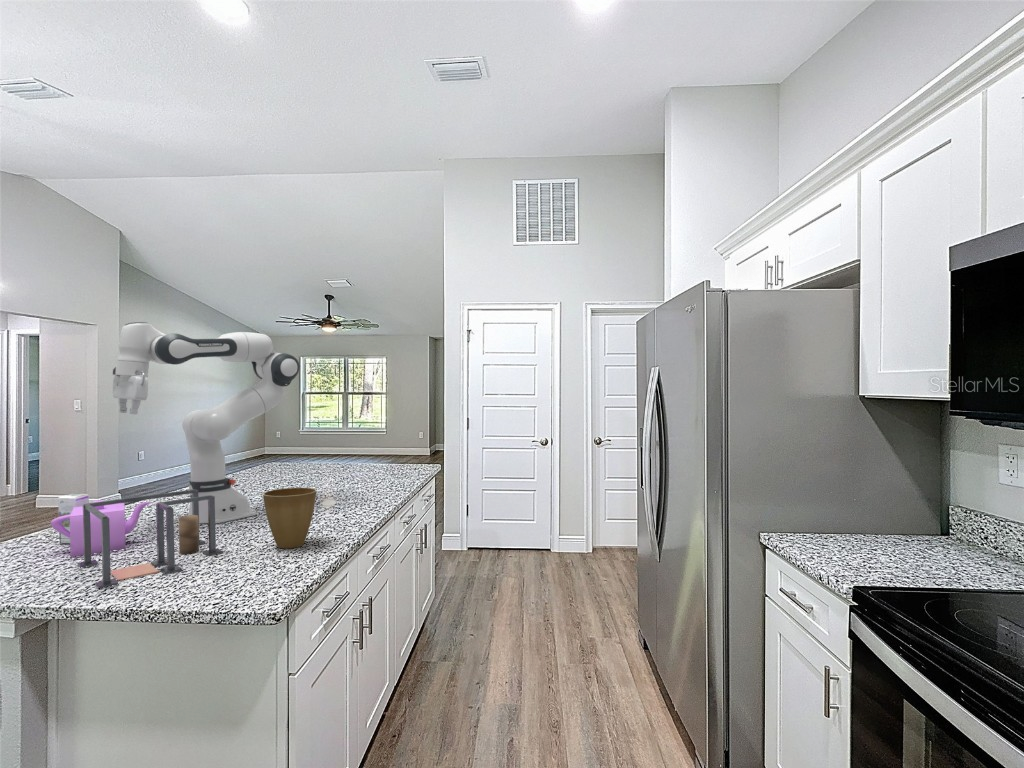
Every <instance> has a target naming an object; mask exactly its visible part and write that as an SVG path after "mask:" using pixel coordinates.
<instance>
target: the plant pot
mask: <svg viewBox="0 0 1024 768" xmlns="http://www.w3.org/2000/svg"><path fill="white" fill-rule="evenodd" d="M262 498H263V503H264V508H265V509H264V510H265V514H266V517H267V518H266V519H267V522H268V526H269V528H270V531H271V535H272V537H273V540H274V543H275V544H276V547H277V548H279V549H294V548H295V549H296V548H300V547H302V546H303V545H304V544H305V542H306V539H307V536H308V533H309V530H310V526H311V523H312V520H313V514H314V511H315V504H316V498H317V489H316V488H313V487H287V488H278V489H272V490H268V491H264V492H263V493H262Z"/></svg>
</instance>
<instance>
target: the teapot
mask: <svg viewBox="0 0 1024 768" xmlns="http://www.w3.org/2000/svg"><path fill="white" fill-rule="evenodd" d="M102 501H105V500H103V499H102V500H101V499H99V500H94V501H91V502H90V503H94V502H102ZM149 504H152V501H147V502H146V501H144V502H141V503H138V504H137V505H136V506H135V507H134V509H133V512H132V515H131V517H129V519H127V520H126V516H125V515H126V511H125V503H118V504H111V505H104V506H96V507H94V508H96V509H97V510H99V511H100V512H102V513H103V514H105V515H106V516H108V518H109V529H110V551H113V550H120V549H125V550H126V535H127V534H130V533H131V532H133V531H134V529H135V527H136V526H137V524H138V521H139V519H140V515H141V512H142V511H143V509H144V508H145V507H146V506H147V505H149ZM67 519H70V532H69V531H68V530H67V529H65V528H64V527H63V525H62V524H61V522H62V521H64V520H67ZM90 525H91V554H94V553H100V552H102V536H101V520H100V519H99V518H97V517H96V516H95V515H93V514H92V513H91V512H90ZM50 526H51V528H52V529H53V530H55V531H56V532H58V533H61V534H63V535H65V536H67V537H69V538H70V544H69V545H70V558H71V557H73V558H76V557H75V556H80V557H82V556H81V555H84V538H83V506H82V507H74V508H73V510H72V513H71V514H70V515H65V516H61V517H59V516H58V517H54V518H52V520H51V521H50ZM94 555H95V554H94Z"/></svg>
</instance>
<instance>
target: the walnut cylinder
mask: <svg viewBox="0 0 1024 768" xmlns="http://www.w3.org/2000/svg"><path fill="white" fill-rule="evenodd" d="M199 539H200V524H199V525H198V515H188V514H187V515H183V516H179V517H178V551H179V554H180V555H189V554H195V553H198V552H199V551H200V545H199Z"/></svg>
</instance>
